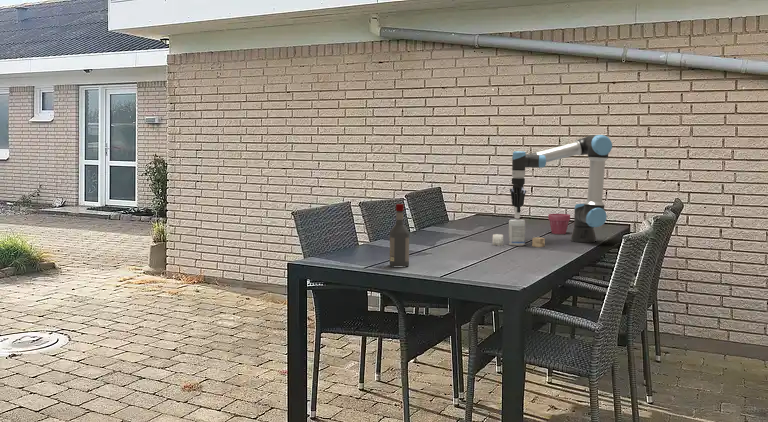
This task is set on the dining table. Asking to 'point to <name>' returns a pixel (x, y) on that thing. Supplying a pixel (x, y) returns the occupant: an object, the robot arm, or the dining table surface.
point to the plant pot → (559, 223)
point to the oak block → (538, 242)
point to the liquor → (399, 240)
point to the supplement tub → (517, 232)
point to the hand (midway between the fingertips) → (517, 217)
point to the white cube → (498, 239)
